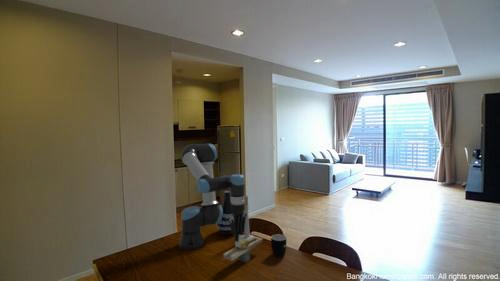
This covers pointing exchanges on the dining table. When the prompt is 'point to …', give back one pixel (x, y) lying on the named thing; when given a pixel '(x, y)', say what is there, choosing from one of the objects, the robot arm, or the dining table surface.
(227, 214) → the vase
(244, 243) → the rider
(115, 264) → the dining table surface
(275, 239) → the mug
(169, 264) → the dining table surface
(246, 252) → the beam
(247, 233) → the candlestick
